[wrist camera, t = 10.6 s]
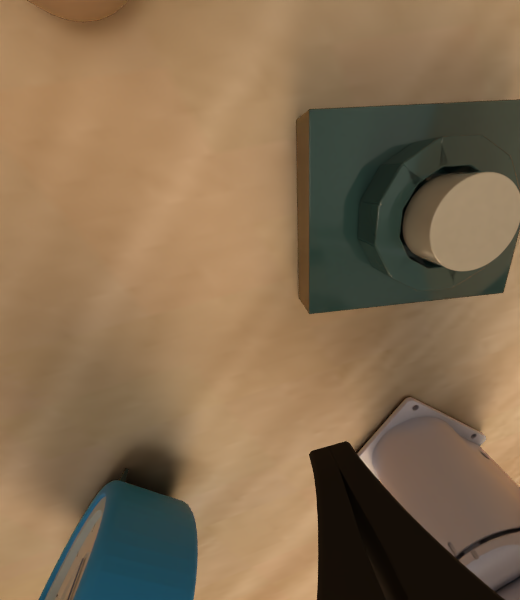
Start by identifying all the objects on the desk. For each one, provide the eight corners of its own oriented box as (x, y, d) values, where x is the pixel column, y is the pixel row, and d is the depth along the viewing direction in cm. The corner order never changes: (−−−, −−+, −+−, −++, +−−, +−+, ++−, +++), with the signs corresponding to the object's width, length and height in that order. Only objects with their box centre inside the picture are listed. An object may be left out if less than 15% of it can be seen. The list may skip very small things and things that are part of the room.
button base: (508, 108, 17) (604, 85, 12) (471, 280, 20) (535, 305, 16) (296, 119, 16) (323, 97, 11) (298, 298, 19) (320, 330, 15)
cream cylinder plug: (490, 170, 14) (534, 168, 12) (472, 256, 15) (508, 267, 13) (407, 175, 13) (438, 175, 11) (397, 263, 15) (423, 275, 13)
